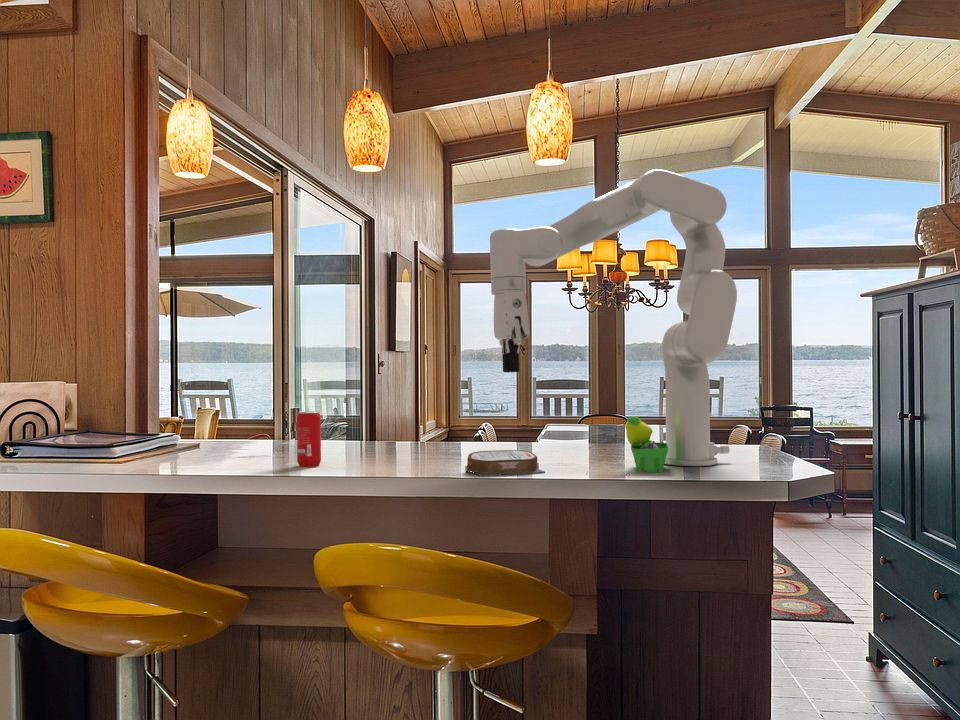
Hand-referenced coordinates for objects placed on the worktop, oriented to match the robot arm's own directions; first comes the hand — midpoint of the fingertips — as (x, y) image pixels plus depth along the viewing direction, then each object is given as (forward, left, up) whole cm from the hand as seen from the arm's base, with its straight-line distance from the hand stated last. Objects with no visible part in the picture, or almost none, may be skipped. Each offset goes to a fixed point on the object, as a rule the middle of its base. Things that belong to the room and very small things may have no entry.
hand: (511, 371), depth 167 cm
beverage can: (+41, -18, -21) cm, 50 cm away
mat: (+3, +6, -21) cm, 22 cm away
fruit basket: (-26, +11, -21) cm, 35 cm away
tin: (+4, +1, -18) cm, 18 cm away
